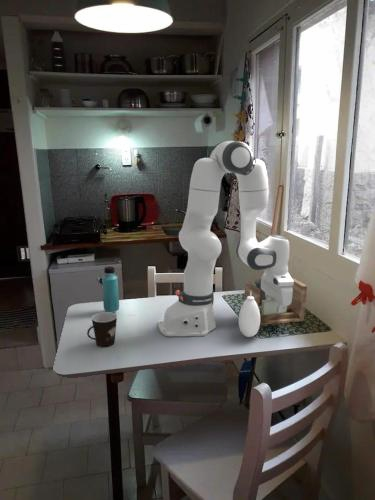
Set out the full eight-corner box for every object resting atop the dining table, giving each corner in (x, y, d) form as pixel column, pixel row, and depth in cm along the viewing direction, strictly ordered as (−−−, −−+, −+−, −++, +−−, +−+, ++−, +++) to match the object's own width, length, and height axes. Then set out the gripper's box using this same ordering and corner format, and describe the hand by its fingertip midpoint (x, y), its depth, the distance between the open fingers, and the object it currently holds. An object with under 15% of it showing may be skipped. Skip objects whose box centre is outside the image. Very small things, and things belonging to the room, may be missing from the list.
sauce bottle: (236, 331, 144) (238, 286, 140) (257, 331, 145) (259, 286, 140) (239, 341, 137) (241, 294, 133) (261, 341, 137) (264, 294, 133)
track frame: (253, 326, 149) (255, 290, 145) (243, 316, 158) (245, 282, 154) (303, 321, 154) (307, 286, 150) (291, 311, 163) (294, 278, 160)
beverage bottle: (122, 313, 159) (120, 267, 155) (107, 317, 156) (105, 270, 151) (115, 308, 165) (113, 264, 160) (101, 311, 161) (98, 266, 156)
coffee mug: (112, 335, 140) (111, 310, 138) (121, 345, 133) (120, 318, 131) (81, 343, 134) (79, 317, 132) (89, 354, 127) (87, 326, 125)
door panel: (264, 319, 153) (265, 303, 151) (260, 316, 156) (261, 300, 154) (286, 317, 155) (288, 301, 153) (283, 314, 158) (284, 298, 156)
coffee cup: (257, 304, 170) (258, 283, 168) (250, 298, 178) (251, 278, 175) (274, 303, 172) (275, 282, 169) (267, 297, 179) (268, 277, 177)
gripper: (258, 268, 160) (256, 299, 164) (281, 284, 141) (278, 318, 144) (271, 267, 162) (269, 297, 165) (296, 282, 143) (293, 317, 146)
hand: (274, 307), depth 155 cm, fingers open, 8 cm apart
